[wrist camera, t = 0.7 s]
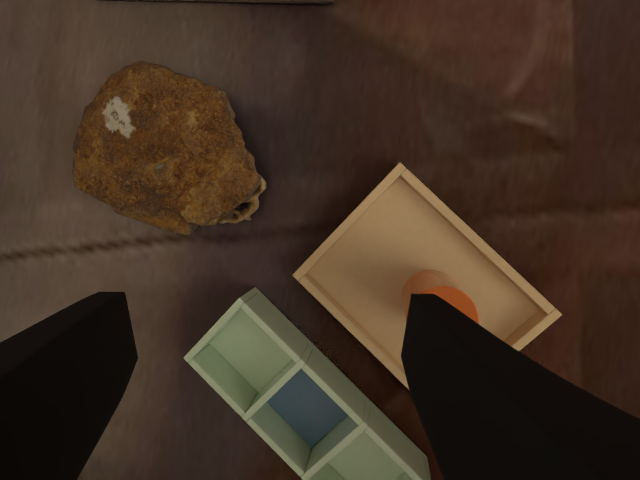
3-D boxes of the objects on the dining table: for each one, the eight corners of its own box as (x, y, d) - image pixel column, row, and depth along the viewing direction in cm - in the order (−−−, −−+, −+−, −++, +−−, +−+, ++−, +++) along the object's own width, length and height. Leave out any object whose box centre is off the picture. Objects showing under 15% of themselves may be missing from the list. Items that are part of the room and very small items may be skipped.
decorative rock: (297, 108, 26) (122, 66, 29) (280, 87, 22) (79, 40, 25) (256, 257, 27) (91, 204, 30) (234, 262, 23) (44, 200, 26)
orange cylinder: (473, 298, 25) (495, 322, 20) (430, 336, 26) (442, 368, 21) (430, 257, 25) (442, 271, 20) (389, 297, 26) (391, 319, 21)
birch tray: (550, 307, 25) (562, 315, 23) (434, 405, 27) (438, 419, 25) (398, 164, 25) (399, 161, 24) (297, 270, 27) (291, 275, 26)
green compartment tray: (427, 456, 27) (433, 490, 24) (367, 505, 28) (365, 544, 25) (255, 286, 28) (239, 297, 25) (204, 340, 29) (182, 358, 26)
